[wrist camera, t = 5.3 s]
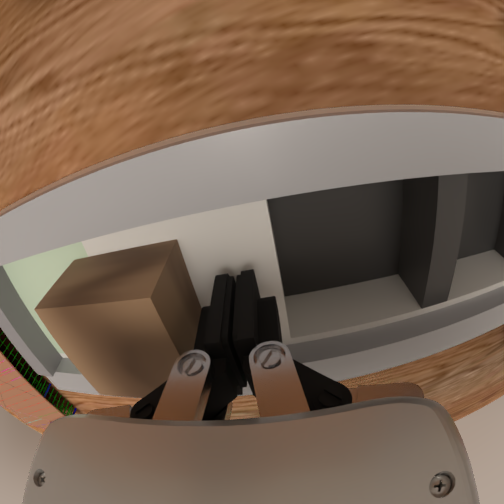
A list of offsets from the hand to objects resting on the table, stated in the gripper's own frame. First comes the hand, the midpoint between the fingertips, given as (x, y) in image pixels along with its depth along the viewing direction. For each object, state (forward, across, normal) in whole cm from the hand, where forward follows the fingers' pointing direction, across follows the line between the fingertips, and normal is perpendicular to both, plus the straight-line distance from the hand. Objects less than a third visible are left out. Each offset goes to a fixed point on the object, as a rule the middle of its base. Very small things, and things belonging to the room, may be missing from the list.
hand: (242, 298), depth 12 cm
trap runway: (+5, -2, 0) cm, 5 cm away
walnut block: (+1, +5, 0) cm, 5 cm away
